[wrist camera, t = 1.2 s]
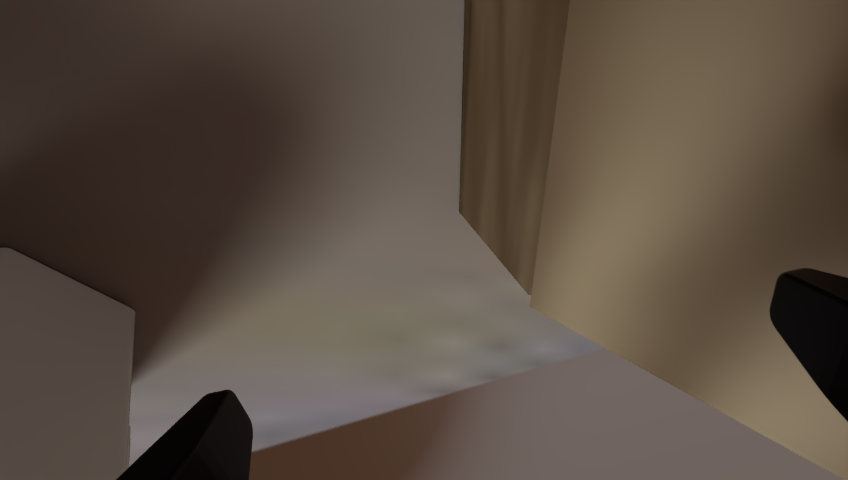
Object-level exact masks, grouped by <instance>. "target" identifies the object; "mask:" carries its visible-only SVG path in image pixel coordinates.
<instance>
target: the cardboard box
mask: <svg viewBox="0 0 848 480" xmlns="http://www.w3.org/2000/svg"><path fill="white" fill-rule="evenodd" d="M569 5H570V0H465V12H464V50H463V88H462V126H461V164H460V202H459V212H460V214H461V215H462V216H463V217H464V218H465V219H466V221H467V222H468V223H469V224H470V225H471V227H472V228H473V229H474V230H475V231H476V233H477V234H478V235H479V236H480V237H481V239H482V240H483V241H484V242H485V243H486V245H487V246H488V247H489V248H490V249H491V251H492V252H493V253H494V254H495V255H496V257H497V258H498V259H499V260H500V261H501V262H502V264H503V265H504V266H505V267H506V268H507V270H508V271H509V272H510V273H511V274H512V276H513V277H514V278H515V279H516V280H517V282H518V283H519V284H520V285H521V286H522V288H523V289H524V290H525V291H526V292H527V294H528V295H531V293H532V285H533V278H534V270H535V263H536V255H537V247H538V240H539V232H540V225H541V217H542V210H543V202H544V194H545V187H546V179H547V172H548V164H549V156H550V149H551V141H552V134H553V126H554V118H555V111H556V103H557V96H558V88H559V81H560V73H561V65H562V58H563V50H564V43H565V35H566V27H567V20H568V12H569Z"/></svg>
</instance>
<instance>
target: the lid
mask: <svg viewBox="0 0 848 480" xmlns="http://www.w3.org/2000/svg"><path fill="white" fill-rule="evenodd" d="M801 268H811V269H815V270H819V271H823V272H827V273H831V274H835V275H839V276H843V277H847V278H848V0H570V5H569V12H568V20H567V27H566V35H565V43H564V50H563V58H562V65H561V73H560V81H559V88H558V96H557V103H556V111H555V118H554V126H553V134H552V141H551V149H550V156H549V164H548V172H547V179H546V187H545V194H544V202H543V210H542V217H541V225H540V232H539V240H538V247H537V255H536V263H535V270H534V278H533V285H532V293H531V301H530V307H531V308H533V309H535V310H537V311H539V312H540V313H542V314H544V315H546V316H548V317H550V318H551V319H553V320H555V321H557V322H559V323H560V324H562V325H564V326H566V327H568V328H569V329H571V330H573V331H575V332H577V333H579V334H580V335H582V336H584V337H586V338H588V339H589V340H591V341H593V342H595V343H597V344H599V345H600V346H602V347H604V348H606V349H608V350H609V351H611V352H613V353H615V354H617V355H619V356H620V357H622V358H624V359H626V360H628V361H629V362H631V363H633V364H635V365H637V366H638V367H640V368H642V369H644V370H646V371H648V372H649V373H651V374H653V375H655V376H657V377H659V378H660V379H662V380H664V381H666V382H668V383H669V384H671V385H673V386H675V387H677V388H678V389H680V390H682V391H684V392H686V393H688V394H690V395H691V396H693V397H695V398H697V399H698V400H700V401H702V402H704V403H706V404H707V405H709V406H711V407H713V408H715V409H717V410H718V411H720V412H722V413H724V414H726V415H727V416H729V417H731V418H733V419H735V420H737V421H738V422H740V423H742V424H744V425H746V426H747V427H749V428H751V429H753V430H755V431H756V432H758V433H760V434H762V435H764V436H766V437H767V438H769V439H771V440H773V441H775V442H776V443H778V444H780V445H782V446H784V447H786V448H787V449H789V450H791V451H793V452H795V453H796V454H798V455H800V456H802V457H804V458H805V459H807V460H809V461H811V462H813V463H815V464H817V465H818V466H820V467H822V468H824V469H826V470H827V471H829V472H831V473H833V474H835V475H837V476H838V477H840V478H842V479H844V480H848V422H847V421H846V420H845V418H844V417H843V416H842V415H841V414H840V413H839V412H838V411H837V410H836V408H835V407H834V406H833V405H832V404H831V403H830V401H829V400H828V399H827V398H826V397H825V395H824V394H823V393H822V391H821V390H820V389H819V388H818V386H817V385H816V384H815V382H814V381H813V380H812V378H811V377H810V375H809V374H808V373H807V371H806V370H805V369H804V367H803V366H802V364H801V363H800V362H799V360H798V359H797V358H796V356H795V355H794V354H793V352H792V351H791V349H790V348H789V347H788V345H787V344H786V343H785V341H784V340H783V338H782V337H781V336H780V334H779V333H778V332H777V330H776V329H775V327H774V326H773V324H772V321H771V319H770V313H769V309H770V304H771V300H772V296H773V292H774V288H775V284H776V280H777V278H778V276H779V275H780V274H781V273H783V272H786V271H791V270H796V269H801Z"/></svg>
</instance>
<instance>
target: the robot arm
mask: <svg viewBox="0 0 848 480" xmlns="http://www.w3.org/2000/svg"><path fill="white" fill-rule="evenodd" d="M769 313H770V319H771V321H772V324H773V326H774V327H775V329H776V330H777V332H778V333H779V334H780V336H781V337H782V338H783V340H784V341H785V343H786V344H787V345H788V347H789V348H790V349H791V351H792V352H793V354H794V355H795V356H796V358H797V359H798V360H799V362H800V363H801V364H802V366H803V367H804V369H805V370H806V371H807V373H808V374H809V375H810V377H811V378H812V380H813V381H814V382H815V384H816V385H817V386H818V388H819V389H820V390H821V391H822V393H823V394H824V395H825V397H826V398H827V399H828V400H829V401H830V403H831V404H832V405H833V406H834V407H835V408H836V410H837V411H838V412H839V413H840V414H841V415H842V416H843V417H844V418H845V420H846V421H847V422H848V278H847V277H843V276H839V275H835V274H831V273H827V272H823V271H819V270H815V269H811V268H801V269H796V270H791V271H786V272H783V273H781V274H780V275H779V276H778V278H777V280H776V284H775V288H774V292H773V296H772V300H771V304H770V309H769ZM252 439H253V429H252V424H251V420H250V418H249V416H248V415H247V413H246V411H245V410H244V408H243V406H242V405H241V403H240V401H239V400H238V398H237V396H236V395H235V394H234V392H232V391H231V390H223V391H218V392H213V393H209V394H207V395H205V396H204V397H203V398H202V399H201V400H199V401H198V402H197V403H196V404H195V405H194V406H193V407H192V408H191V409H190V410H189V411H188V412H187V413H186V414H185V415H184V416H183V417H182V418H180V419H179V420H178V421H177V422H176V423H175V424H174V425H173V426H172V427H171V428H170V429H169V430H168V431H167V432H166V433H165V434H164V435H163V436H161V437H160V438H159V439H158V440H157V441H156V442H155V443H154V444H153V445H152V446H151V447H150V448H149V449H148V450H147V451H146V452H145V453H143V454H142V455H141V456H140V457H139V458H138V459H137V460H136V461H135V462H134V463H133V464H132V465H131V466H130V467H129V468H128V469H127V470H126V471H124V472H123V473H122V474H121V475H120V476H119V477H118V478H117V479H116V480H249V472H250V460H251V451H252Z"/></svg>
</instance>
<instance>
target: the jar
mask: <svg viewBox="0 0 848 480" xmlns="http://www.w3.org/2000/svg"><path fill="white" fill-rule="evenodd" d="M134 331H135V311H134V310H133V309H132V308H130V307H128V306H126V305H124V304H122V303H120V302H118V301H116V300H114V299H112V298H110V297H108V296H106V295H104V294H102V293H100V292H98V291H96V290H94V289H92V288H90V287H88V286H86V285H84V284H81V283H79V282H77V281H75V280H73V279H71V278H69V277H67V276H65V275H63V274H61V273H59V272H57V271H55V270H53V269H51V268H49V267H47V266H45V265H43V264H41V263H39V262H37V261H35V260H33V259H31V258H29V257H27V256H25V255H23V254H21V253H19V252H17V251H15V250H13V249H11V248H7V247H4V248H0V480H116V479H117V478H118V477H119V476H120V475H121V474H122V473H123V472H124V471H126V470H127V469H128V468H129V458H130V426H129V419H130V417H129V414H130V398H131V381H132V364H133V348H134Z"/></svg>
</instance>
